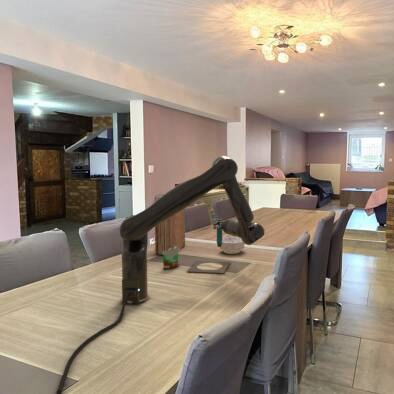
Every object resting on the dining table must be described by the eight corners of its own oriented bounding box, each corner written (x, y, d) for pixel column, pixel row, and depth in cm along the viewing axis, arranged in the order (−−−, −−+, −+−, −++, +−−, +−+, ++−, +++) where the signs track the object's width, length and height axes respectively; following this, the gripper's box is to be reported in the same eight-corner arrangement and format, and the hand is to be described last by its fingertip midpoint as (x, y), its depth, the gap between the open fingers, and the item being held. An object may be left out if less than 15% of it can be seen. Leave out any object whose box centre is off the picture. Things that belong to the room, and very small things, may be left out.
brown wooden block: (170, 256, 195) (169, 204, 192) (155, 255, 196) (154, 204, 194) (185, 245, 221) (184, 200, 218) (171, 245, 222) (171, 199, 219)
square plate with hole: (223, 274, 165) (223, 272, 165) (187, 272, 167) (187, 271, 167) (229, 263, 183) (229, 262, 183) (197, 262, 185) (197, 260, 185)
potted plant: (173, 270, 169) (173, 251, 168) (162, 269, 170) (161, 250, 169) (184, 263, 181) (183, 245, 180) (173, 263, 182) (173, 244, 181)
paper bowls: (232, 257, 196) (232, 243, 195) (214, 252, 205) (214, 239, 204) (249, 251, 208) (249, 239, 207) (231, 247, 217) (231, 235, 216)
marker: (221, 247, 170) (221, 219, 169) (216, 246, 170) (216, 219, 169) (222, 245, 173) (222, 218, 172) (217, 245, 173) (217, 218, 172)
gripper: (246, 218, 163) (228, 214, 177) (220, 221, 155) (204, 216, 169) (246, 234, 163) (228, 228, 177) (220, 237, 155) (204, 230, 169)
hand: (216, 222), depth 173 cm, fingers closed on marker, 2 cm apart
